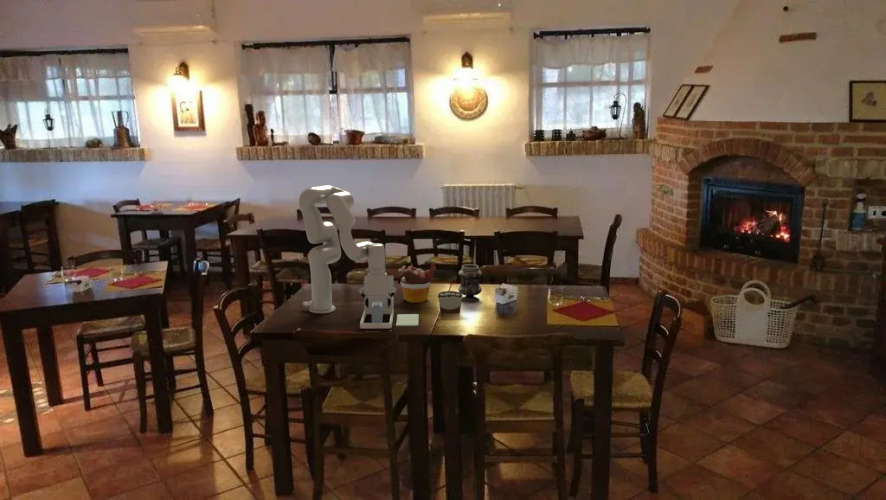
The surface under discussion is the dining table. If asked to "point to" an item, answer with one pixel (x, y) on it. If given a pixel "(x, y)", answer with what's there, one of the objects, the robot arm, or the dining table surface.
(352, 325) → the dining table surface
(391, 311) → the case
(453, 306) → the food container
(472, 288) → the apothecary jar
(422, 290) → the bucket of meat
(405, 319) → the mat
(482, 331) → the dining table surface
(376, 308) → the box
